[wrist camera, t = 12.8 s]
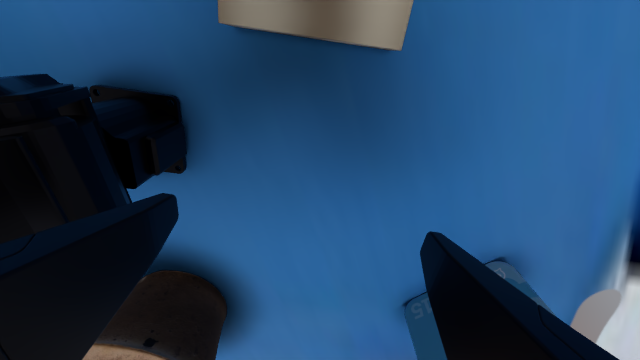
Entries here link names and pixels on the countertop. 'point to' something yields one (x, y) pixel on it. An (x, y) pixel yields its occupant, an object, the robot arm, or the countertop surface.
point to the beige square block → (324, 19)
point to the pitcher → (164, 321)
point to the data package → (425, 324)
